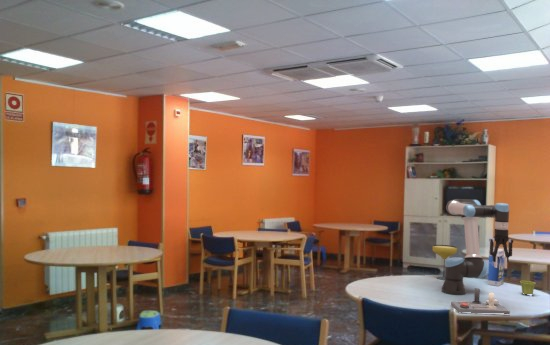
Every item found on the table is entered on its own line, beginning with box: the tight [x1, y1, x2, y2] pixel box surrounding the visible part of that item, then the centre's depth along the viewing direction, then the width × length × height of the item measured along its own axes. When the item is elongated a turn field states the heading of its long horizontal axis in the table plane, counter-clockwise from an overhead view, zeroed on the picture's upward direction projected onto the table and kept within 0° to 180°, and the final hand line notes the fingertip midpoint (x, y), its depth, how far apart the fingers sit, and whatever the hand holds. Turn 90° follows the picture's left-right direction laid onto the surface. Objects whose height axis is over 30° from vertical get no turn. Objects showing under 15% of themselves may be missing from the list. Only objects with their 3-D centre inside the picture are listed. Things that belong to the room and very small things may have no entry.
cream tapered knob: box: [487, 291, 496, 309], centre depth 275 cm, size 4×3×9 cm
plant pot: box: [519, 280, 536, 295], centre depth 322 cm, size 9×9×9 cm
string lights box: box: [487, 248, 505, 287], centre depth 353 cm, size 13×8×26 cm, turn 139°
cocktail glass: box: [432, 244, 458, 281], centre depth 367 cm, size 18×18×25 cm
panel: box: [450, 300, 511, 314], centre depth 280 cm, size 28×16×5 cm, turn 86°
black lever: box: [471, 288, 482, 304], centre depth 284 cm, size 4×3×9 cm
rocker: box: [485, 298, 499, 304], centre depth 284 cm, size 6×4×2 cm, turn 86°
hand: (500, 267), depth 285 cm, fingers open, 5 cm apart
